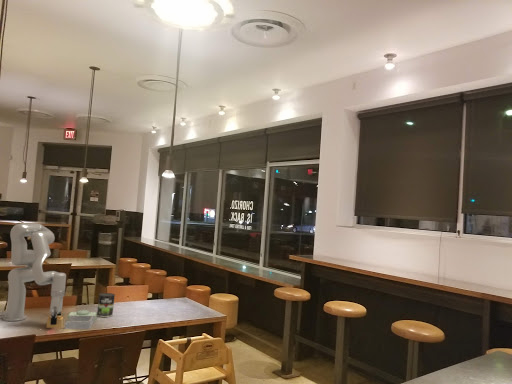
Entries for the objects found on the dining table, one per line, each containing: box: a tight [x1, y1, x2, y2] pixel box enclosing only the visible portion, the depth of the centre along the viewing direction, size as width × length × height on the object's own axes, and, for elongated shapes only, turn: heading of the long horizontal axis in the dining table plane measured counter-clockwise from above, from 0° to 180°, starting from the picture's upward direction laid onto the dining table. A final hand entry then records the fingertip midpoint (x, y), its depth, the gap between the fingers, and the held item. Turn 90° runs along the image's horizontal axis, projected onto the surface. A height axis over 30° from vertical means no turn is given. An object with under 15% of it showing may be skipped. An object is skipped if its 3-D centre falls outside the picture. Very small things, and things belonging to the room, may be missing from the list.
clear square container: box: [64, 315, 94, 330], centre depth 247 cm, size 14×14×4 cm
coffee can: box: [96, 292, 116, 318], centre depth 272 cm, size 10×10×14 cm
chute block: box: [45, 315, 65, 329], centre depth 241 cm, size 8×5×6 cm, turn 102°
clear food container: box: [66, 309, 98, 322], centre depth 258 cm, size 16×9×5 cm, turn 103°
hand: (55, 322), depth 241 cm, fingers open, 9 cm apart
